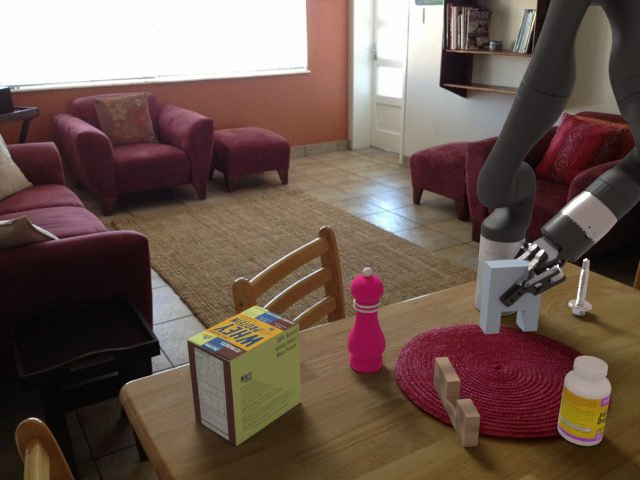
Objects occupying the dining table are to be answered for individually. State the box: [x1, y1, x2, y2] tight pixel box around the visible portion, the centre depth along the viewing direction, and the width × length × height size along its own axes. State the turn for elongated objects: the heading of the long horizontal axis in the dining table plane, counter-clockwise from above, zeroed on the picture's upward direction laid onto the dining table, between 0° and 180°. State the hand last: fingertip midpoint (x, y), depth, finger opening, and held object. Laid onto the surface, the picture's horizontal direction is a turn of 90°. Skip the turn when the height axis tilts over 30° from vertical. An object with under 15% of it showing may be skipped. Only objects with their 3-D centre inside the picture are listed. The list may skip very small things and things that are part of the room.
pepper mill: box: [346, 267, 387, 374], centre depth 112 cm, size 7×7×20 cm
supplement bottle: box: [557, 355, 612, 447], centre depth 94 cm, size 7×7×13 cm
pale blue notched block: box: [478, 259, 543, 335], centre depth 102 cm, size 9×3×12 cm, turn 96°
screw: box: [567, 258, 593, 317], centre depth 132 cm, size 13×5×5 cm
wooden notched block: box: [433, 356, 481, 448], centre depth 101 cm, size 17×2×6 cm, turn 6°
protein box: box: [186, 305, 302, 447], centre depth 100 cm, size 10×15×16 cm
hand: (499, 298), depth 101 cm, fingers closed on pale blue notched block, 3 cm apart
